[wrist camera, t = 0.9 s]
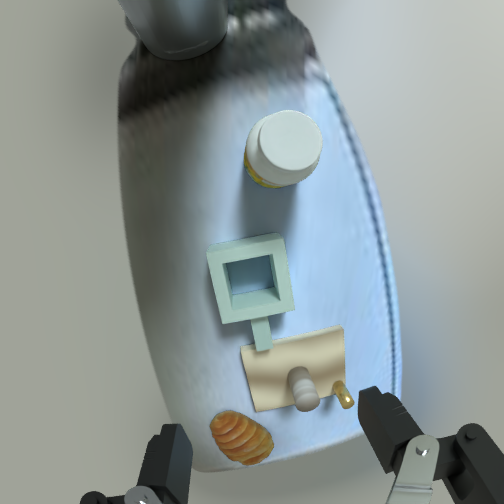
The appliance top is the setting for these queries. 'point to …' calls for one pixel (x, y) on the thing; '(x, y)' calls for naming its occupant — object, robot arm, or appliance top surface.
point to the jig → (296, 369)
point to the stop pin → (343, 394)
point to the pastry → (241, 438)
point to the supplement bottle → (282, 149)
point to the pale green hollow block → (253, 302)
